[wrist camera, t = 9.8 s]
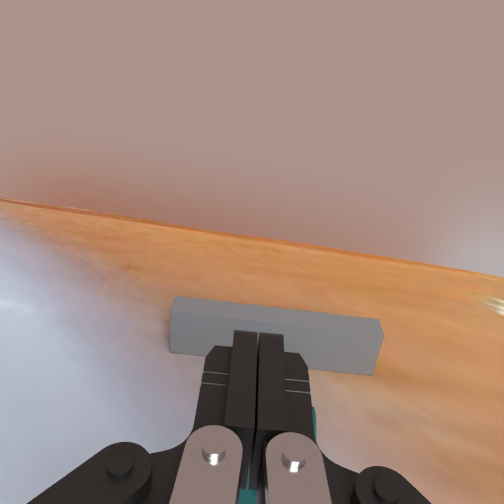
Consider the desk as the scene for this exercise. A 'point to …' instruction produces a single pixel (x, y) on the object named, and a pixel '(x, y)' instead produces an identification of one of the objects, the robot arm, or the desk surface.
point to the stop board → (278, 332)
